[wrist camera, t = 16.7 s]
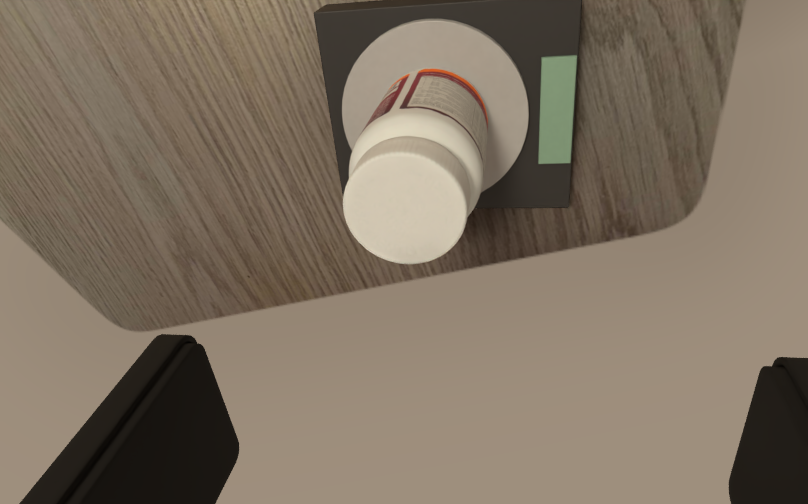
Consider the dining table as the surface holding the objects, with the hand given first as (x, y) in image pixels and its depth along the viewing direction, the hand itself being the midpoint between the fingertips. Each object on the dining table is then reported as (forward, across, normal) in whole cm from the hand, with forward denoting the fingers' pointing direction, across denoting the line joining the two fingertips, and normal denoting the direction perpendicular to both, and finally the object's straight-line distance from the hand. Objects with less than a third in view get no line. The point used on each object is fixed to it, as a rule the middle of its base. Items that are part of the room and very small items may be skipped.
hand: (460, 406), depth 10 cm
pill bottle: (+25, +4, +3) cm, 25 cm away
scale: (+28, +3, +3) cm, 28 cm away
